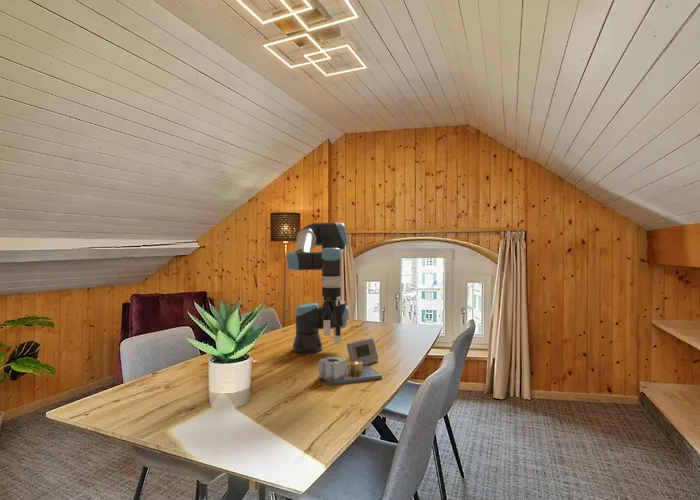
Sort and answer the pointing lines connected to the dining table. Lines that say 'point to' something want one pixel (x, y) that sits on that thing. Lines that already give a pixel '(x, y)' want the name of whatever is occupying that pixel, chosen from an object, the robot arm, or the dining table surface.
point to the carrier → (355, 374)
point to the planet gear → (332, 368)
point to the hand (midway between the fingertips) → (331, 339)
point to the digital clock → (363, 351)
